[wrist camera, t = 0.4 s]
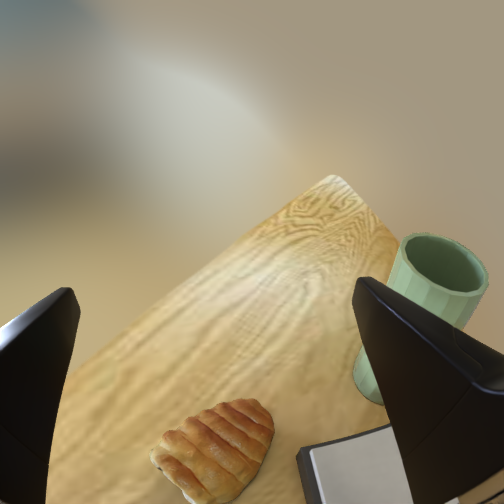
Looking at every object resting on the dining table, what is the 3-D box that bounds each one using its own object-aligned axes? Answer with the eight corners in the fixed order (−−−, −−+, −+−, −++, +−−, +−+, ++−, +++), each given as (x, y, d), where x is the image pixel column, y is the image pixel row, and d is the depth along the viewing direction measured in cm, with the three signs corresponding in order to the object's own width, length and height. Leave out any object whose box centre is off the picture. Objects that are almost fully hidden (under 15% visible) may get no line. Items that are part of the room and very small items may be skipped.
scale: (446, 526, 10) (471, 520, 8) (324, 578, 9) (336, 585, 7) (409, 423, 19) (426, 406, 17) (295, 456, 18) (302, 444, 16)
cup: (429, 393, 21) (504, 286, 14) (367, 415, 20) (437, 305, 13) (401, 340, 27) (450, 230, 19) (343, 353, 26) (382, 234, 18)
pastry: (230, 390, 23) (228, 366, 21) (296, 436, 19) (304, 418, 17) (147, 461, 17) (131, 446, 15) (213, 520, 14) (206, 518, 11)
